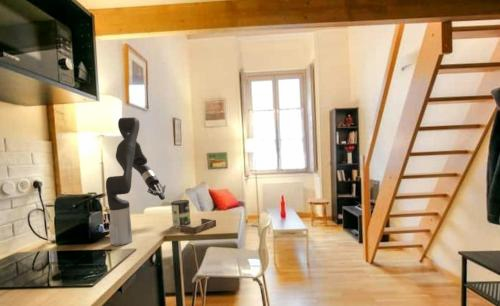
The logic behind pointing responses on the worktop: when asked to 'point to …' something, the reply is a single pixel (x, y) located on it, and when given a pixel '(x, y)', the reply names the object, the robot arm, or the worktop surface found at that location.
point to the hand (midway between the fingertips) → (163, 198)
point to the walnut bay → (199, 226)
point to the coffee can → (180, 213)
